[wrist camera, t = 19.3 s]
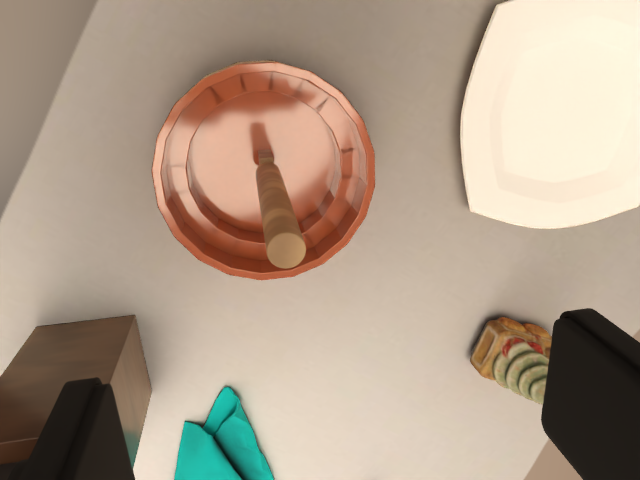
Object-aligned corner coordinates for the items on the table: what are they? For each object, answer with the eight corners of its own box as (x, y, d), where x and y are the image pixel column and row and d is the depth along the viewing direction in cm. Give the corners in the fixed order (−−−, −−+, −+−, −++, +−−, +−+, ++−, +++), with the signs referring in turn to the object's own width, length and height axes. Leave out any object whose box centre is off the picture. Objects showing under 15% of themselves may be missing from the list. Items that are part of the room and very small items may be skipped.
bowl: (180, 261, 42) (172, 290, 37) (147, 67, 36) (133, 70, 31) (360, 241, 44) (376, 267, 39) (355, 54, 38) (372, 55, 33)
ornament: (553, 321, 50) (625, 383, 41) (530, 374, 52) (593, 444, 43) (481, 309, 48) (539, 372, 39) (460, 364, 50) (510, 436, 41)
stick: (255, 181, 40) (268, 277, 23) (252, 150, 39) (263, 228, 22) (278, 178, 40) (307, 272, 24) (275, 148, 39) (304, 223, 23)
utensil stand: (59, 405, 45) (-100, 725, 24) (35, 326, 42) (-169, 612, 21) (152, 392, 46) (79, 689, 25) (135, 314, 43) (36, 575, 22)
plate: (694, -12, 40) (716, -15, 39) (636, 219, 47) (652, 226, 45) (466, -22, 38) (477, -25, 36) (439, 225, 44) (448, 233, 43)
